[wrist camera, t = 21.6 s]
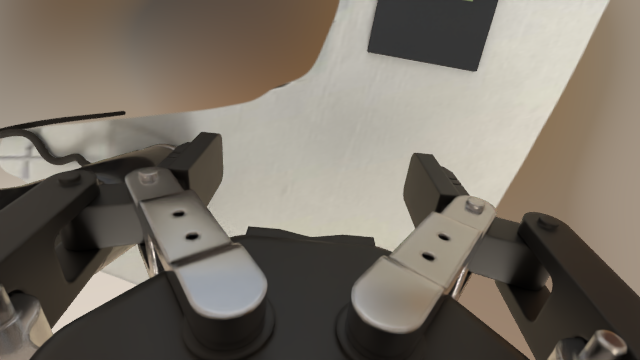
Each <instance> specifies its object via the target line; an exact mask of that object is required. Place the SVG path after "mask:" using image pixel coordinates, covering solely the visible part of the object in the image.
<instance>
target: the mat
mask: <svg viewBox="0 0 640 360" xmlns="http://www.w3.org/2000/svg"><path fill="white" fill-rule="evenodd" d="M497 3H498V0H378V3H377V8H376V13H375V17H374V22H373V27H372V32H371V37H370V41H369V46H368V52H371V53H376V54H382V55H387V56H393V57H398V58H403V59H409V60H414V61H420V62H425V63H431V64H436V65H441V66H447V67H452V68H458V69H463V70H469V71H477V68H478V65H479V62H480V59H481V55H482V52H483V49H484V45H485V42H486V39H487V36H488V32H489V29H490V26H491V22H492V19H493V16H494V13H495V9H496V6H497Z"/></svg>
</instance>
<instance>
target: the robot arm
mask: <svg viewBox="0 0 640 360" xmlns="http://www.w3.org/2000/svg"><path fill="white" fill-rule="evenodd" d="M125 114H126V112H125V111H118V112H109V113H99V114H90V115H80V116H71V117H61V118H54V119H47V120H40V121H34V122H28V123H23V124H18V125H13V126H8V127H4V128H0V138H4V137H9V136H23V137H26V138H28V139H29V140H30V141H31V142H32V143H33V144H34V145H35V147H36V149H37V150H38V152H39V153H40V155H41V156H42V157H43V158H44V159H45V160H46V161H47V162H49V163H51V164H55V165H63V164H67V163H69V162H72V161H77V162H78V163H79V164H80V165H81V166H82V167H81V168H79V169H75V170H72V171H66V172H62V173H58V174H55V175H52V176H50V177H48V178H46V179H42V180H39V181H35V182H32V183H29V184H25V185H22V186H18V187H11V188H2V189H0V360H530V359H528V358H527V357H526V356H525V355H524V354H523V353H521V352H520V351H519V350H518V349H516V348H515V347H514V346H513V345H511V344H510V343H509V342H508V341H506V340H505V339H504V338H503V337H501V336H500V335H499V334H497V333H496V332H495V331H494V330H492V329H491V328H490V327H489V326H487V325H486V324H485V323H484V322H482V321H481V320H480V319H479V318H477V317H476V316H475V315H474V314H472V313H471V312H470V311H469V310H467V309H466V308H465V307H464V306H462V305H461V304H460V303H459V302H457V301H458V299H459V297H460V296H461V294H462V292H463V290H464V288H465V287H466V285H467V283H468V281H469V279H470V278H471V275H472V273H475V274H478V275H482V276H484V277H488V278H491V279H494V280H495V283H496V285H497V287H498V289H499V291H500V293H501V295H502V297H503V299H504V300H505V302H506V304H507V306H508V308H509V310H510V312H511V314H512V316H513V317H514V319H515V321H516V323H517V325H518V327H519V329H520V331H521V333H522V334H523V336H524V338H525V340H526V342H527V344H528V346H529V347H530V349H531V351H532V353H533V355H534V357H535V359H536V360H640V297H639V296H638V295H637V294H636V293H635V292H634V291H633V290H632V289H631V288H630V287H629V286H628V285H627V284H626V283H625V282H624V281H623V280H622V279H621V278H620V277H619V276H618V275H617V274H616V273H615V272H614V271H613V270H612V269H611V268H610V267H609V266H608V265H607V264H606V263H605V262H604V261H603V260H602V259H601V258H600V257H599V256H598V255H597V254H596V253H595V252H594V251H593V250H592V249H591V248H590V247H589V246H588V245H587V244H586V243H585V242H584V241H583V240H582V239H581V238H580V237H579V236H578V235H577V234H576V233H575V232H574V231H573V230H572V229H571V228H570V227H569V226H568V225H567V224H565V223H564V222H562V221H560V220H558V219H557V218H554V217H552V216H549V215H546V214H542V213H537V212H529V213H526V214H525V215H524V216H523V219H522V221H521V223H517V222H513V221H509V220H505V219H501V218H498V217H496V214H497V210H496V208H495V207H494V206H493V205H491V204H490V203H489V202H487V201H485V200H483V199H480V198H477V197H473V196H470V195H469V194H468V193H467V191H466V190H465V189H464V187H463V186H461V183H460V182H459V181H458V180H457V178H456V177H455V175H454V174H453V173H452V172H451V171H449V170H448V169H446V168H445V167H441V166H440V165H439V163H438V162H437V160H436V159H435V157H434V156H433V155H432V154H422V153H414V154H413V155H412V157H411V161H410V165H409V169H408V173H407V177H406V181H405V185H404V192H403V196H404V201H405V204H406V206H407V209H408V211H409V214H410V216H411V219H412V221H413V224H414V226H415V230H414V231H413V232H412V233H411V234H410V235H409V236H408V237H407V238H406V239H405V240H404V241H403V242H402V243H401V244H400V245H399V246H398V247H397V248H396V249H395V250H394V251H393V252H391V251H388V250H386V249H383V248H380V247H377V246H375V242H374V237H362V236H351V235H334V236H321V237H308V236H304V235H300V234H296V233H292V232H288V231H285V230H281V229H271V228H260V227H249V226H248V229H247V232H246V235H239V236H233V237H228V235H227V234H226V233H225V231H224V230H223V229H222V227H221V226H220V225H219V223H218V222H217V221H216V219H215V218H214V216H213V215H212V214H211V212H210V211H209V210H208V208H207V206H208V204H209V202H210V200H211V199H212V197H213V195H214V194H215V192H216V190H217V189H218V187H219V185H220V184H221V181H222V177H223V152H222V137H221V135H220V134H217V133H207V132H201V133H200V134H199V135H198V136H197V137H196V138H195V139H194V140H193V141H192V142H187V143H184V144H182V145H179V146H177V147H175V146H172V145H168V144H158V145H153V146H150V147H147V148H145V149H143V150H136V151H132V152H129V153H125V154H122V155H119V156H115V157H111V158H108V159H104V160H101V161H98V162H95V163H90V162H88V161H86V160H85V158H84V157H83V156H81V155H79V154H70V155H67V156H65V157H62V158H55V157H53V156H52V155H51V154H50V153H49V152H48V151H47V149H46V148H45V146H44V144H43V143H42V141H41V140H40V139H39V138H38V137H37V136H36V135H35V134H34V133H32V132H30V131H27V130H23V129H29V128H34V127H40V126H45V125H51V124H58V123H65V122H72V121H80V120H88V119H97V118H104V117H113V116H120V115H125ZM136 244H138V247H139V251H140V253H141V256H142V259H143V261H144V264H145V267H146V269H147V272H148V274H149V277H150V278H149V279H148V280H146V281H144V282H142V283H140V284H139V285H137V286H135V287H134V288H132V289H130V290H128V291H126V292H124V293H123V294H121V295H119V296H117V297H115V298H113V299H112V300H110V301H108V302H106V303H104V304H103V305H101V306H99V307H97V308H95V309H94V310H92V311H90V312H88V313H86V314H85V315H83V316H81V317H79V318H78V319H76V320H74V321H72V322H71V323H69V324H67V325H66V326H64V327H63V328H61V329H60V330H59V331H57V332H56V333H55V334H53V333H52V330H51V329H52V328H53V326H54V325H55V324H56V323H57V321H58V320H59V319H60V317H61V316H62V315H63V313H64V312H65V311H66V310H67V308H68V307H69V306H70V304H71V303H72V302H73V300H74V299H75V298H76V297H77V295H78V294H79V293H80V291H81V290H82V289H83V287H84V286H85V285H86V284H87V282H88V281H89V280H90V278H91V277H92V276H93V275H94V274H96V273H97V272H98V271H100V270H101V269H103V268H104V267H105V266H107V265H108V264H110V263H111V262H112V261H114V260H115V259H117V258H118V257H119V256H121V255H122V254H124V253H125V252H126V251H128V250H129V249H131V248H132V247H133V246H135V245H136ZM549 276H551V278H552V283H553V288H552V292H551V293H550V292H549V290H548V288H547V287H546V286H545V283H546V281H547V280H548V278H549Z"/></svg>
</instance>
